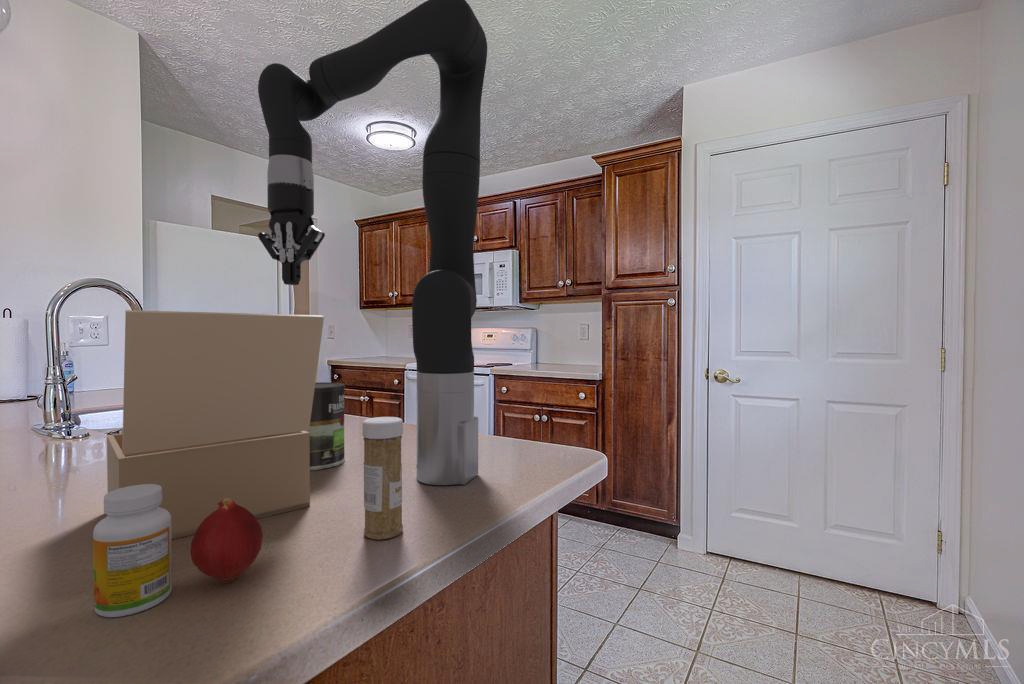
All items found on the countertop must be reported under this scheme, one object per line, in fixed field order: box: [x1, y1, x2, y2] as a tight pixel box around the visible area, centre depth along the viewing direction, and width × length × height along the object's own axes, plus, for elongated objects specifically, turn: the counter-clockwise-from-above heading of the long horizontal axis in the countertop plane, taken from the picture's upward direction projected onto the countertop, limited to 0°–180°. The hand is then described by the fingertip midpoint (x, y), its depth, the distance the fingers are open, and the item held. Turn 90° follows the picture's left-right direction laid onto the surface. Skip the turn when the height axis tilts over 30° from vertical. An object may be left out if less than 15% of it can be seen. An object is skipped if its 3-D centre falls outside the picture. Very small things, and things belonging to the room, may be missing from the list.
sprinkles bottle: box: [362, 416, 404, 541], centre depth 57 cm, size 5×5×13 cm
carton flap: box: [122, 309, 325, 455], centre depth 56 cm, size 16×19×1 cm
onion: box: [189, 498, 264, 584], centre depth 46 cm, size 6×6×8 cm
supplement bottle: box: [92, 484, 173, 618], centre depth 42 cm, size 5×5×10 cm
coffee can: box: [305, 381, 346, 471], centre depth 87 cm, size 10×10×14 cm
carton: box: [106, 431, 311, 541], centre depth 64 cm, size 16×20×10 cm
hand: (291, 284), depth 86 cm, fingers closed
